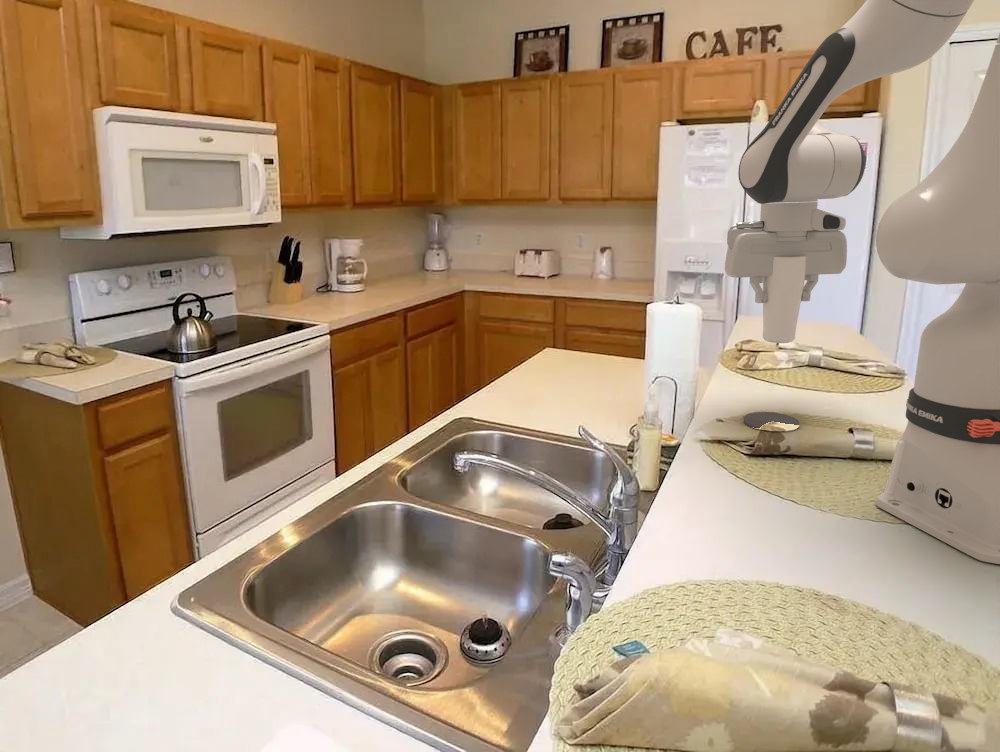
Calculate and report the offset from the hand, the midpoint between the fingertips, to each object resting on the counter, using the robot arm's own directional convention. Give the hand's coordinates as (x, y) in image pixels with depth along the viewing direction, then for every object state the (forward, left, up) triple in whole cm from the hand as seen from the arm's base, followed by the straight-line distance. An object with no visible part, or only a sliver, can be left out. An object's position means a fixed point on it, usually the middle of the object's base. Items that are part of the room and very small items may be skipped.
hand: (782, 301), depth 119 cm
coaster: (-7, +4, -20) cm, 21 cm away
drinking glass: (0, 0, -7) cm, 7 cm away
